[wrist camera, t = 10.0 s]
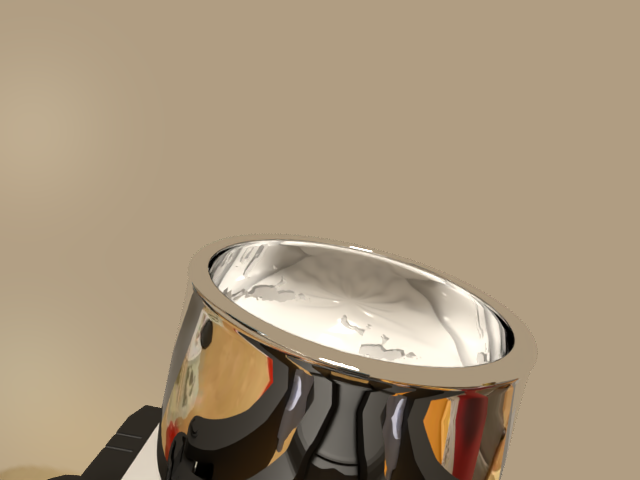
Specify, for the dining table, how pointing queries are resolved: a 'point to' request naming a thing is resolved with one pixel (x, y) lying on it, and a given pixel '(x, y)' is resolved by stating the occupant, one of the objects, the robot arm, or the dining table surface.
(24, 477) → the dining table surface
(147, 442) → the robot arm
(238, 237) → the silver metal tumbler
